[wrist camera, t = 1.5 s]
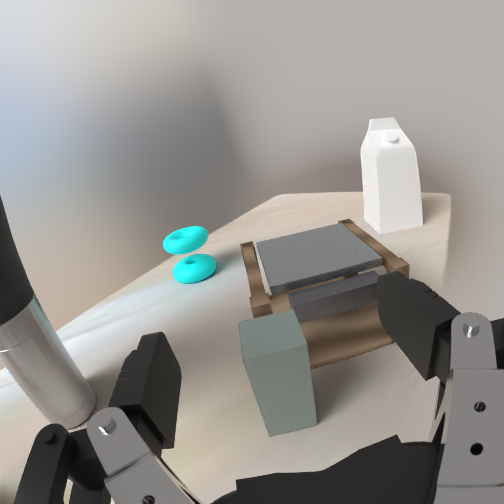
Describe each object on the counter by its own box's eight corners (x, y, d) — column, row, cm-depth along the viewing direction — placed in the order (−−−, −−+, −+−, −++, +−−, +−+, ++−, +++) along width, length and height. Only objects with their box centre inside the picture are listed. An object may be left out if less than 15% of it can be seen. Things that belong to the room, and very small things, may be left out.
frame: (403, 338, 34) (409, 264, 30) (270, 379, 34) (251, 307, 30) (354, 277, 51) (349, 218, 46) (254, 303, 51) (240, 244, 46)
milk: (403, 212, 74) (393, 117, 64) (423, 225, 64) (414, 117, 53) (364, 219, 75) (351, 120, 65) (380, 234, 65) (367, 120, 55)
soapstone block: (269, 436, 26) (242, 359, 22) (263, 402, 31) (238, 321, 26) (317, 425, 26) (307, 343, 22) (306, 391, 31) (293, 308, 26)
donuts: (152, 243, 61) (180, 225, 69) (166, 284, 65) (192, 263, 73) (187, 242, 56) (214, 223, 64) (201, 287, 60) (226, 264, 68)
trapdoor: (395, 295, 30) (396, 269, 29) (280, 328, 30) (275, 303, 29) (342, 242, 45) (340, 223, 44) (260, 262, 45) (256, 242, 44)
